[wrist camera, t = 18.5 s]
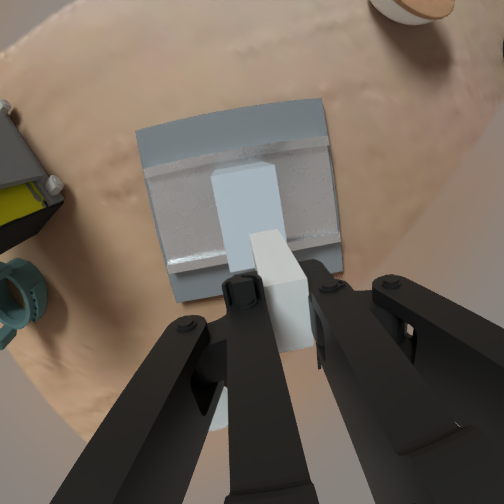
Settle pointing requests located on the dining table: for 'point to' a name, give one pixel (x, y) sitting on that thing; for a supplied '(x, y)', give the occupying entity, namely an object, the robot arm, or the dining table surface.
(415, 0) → the lidded jar
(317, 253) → the mounting board
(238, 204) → the block
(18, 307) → the bracket
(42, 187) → the electrical component
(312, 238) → the din rail
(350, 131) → the dining table surface
